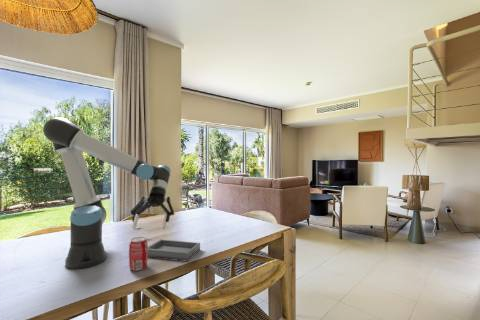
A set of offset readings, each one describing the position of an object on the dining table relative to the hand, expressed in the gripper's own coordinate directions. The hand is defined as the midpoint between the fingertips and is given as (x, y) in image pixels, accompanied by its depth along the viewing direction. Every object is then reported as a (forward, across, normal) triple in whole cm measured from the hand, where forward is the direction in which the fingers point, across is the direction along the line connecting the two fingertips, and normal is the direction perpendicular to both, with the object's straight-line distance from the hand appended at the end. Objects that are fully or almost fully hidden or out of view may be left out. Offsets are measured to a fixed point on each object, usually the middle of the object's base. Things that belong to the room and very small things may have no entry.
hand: (148, 227), depth 109 cm
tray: (+6, -10, -14) cm, 18 cm away
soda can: (+17, +1, -3) cm, 17 cm away
